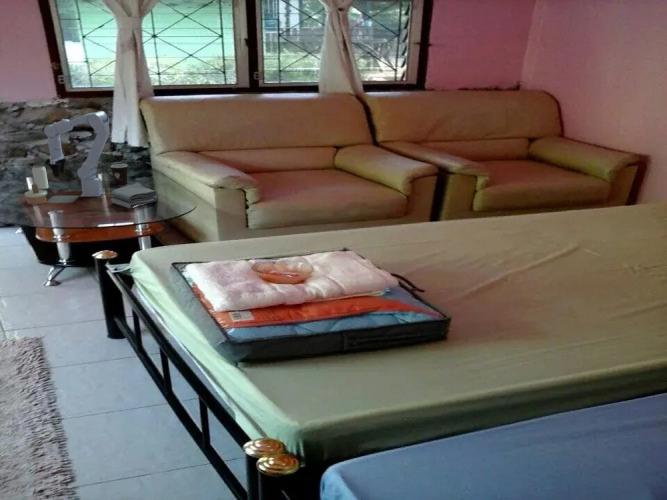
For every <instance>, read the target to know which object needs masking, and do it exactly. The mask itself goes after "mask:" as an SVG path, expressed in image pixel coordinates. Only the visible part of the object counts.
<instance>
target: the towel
mask: <svg viewBox="0 0 667 500" xmlns="http://www.w3.org/2000/svg"><path fill="white" fill-rule="evenodd" d="M109 195H110V196H111V199H110V201H111V203H113V204H115V205H118V206H121V207H123V208H124V207H125V208H127V209H131V208H132V209H134V208H133V207H134V206H136V205H142V206H145V205H148V204H151V203H154V202H157V200H158V196H157V195H158V194H157V191H156V190H154V189H151V188H146V187H144V186H143V185H142V184H140V183H138V182H136V183H134V184H129V185H126V186H122V187H119V188H115V189H113V190H112V191H111V193H110V194H109ZM147 203H148V204H147ZM144 204H145V205H144ZM132 209H131V210H132Z"/></svg>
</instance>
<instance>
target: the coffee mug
mask: <svg viewBox="0 0 667 500" xmlns="http://www.w3.org/2000/svg"><path fill="white" fill-rule="evenodd" d="M108 169H110V170H111V173H112V174H110V173H109V172H108ZM105 172H106V173H107V175H109V176H110V177H112V178H113V181H114V184H115V185H116V186H123V185H127V184H128V164H125V163H116V164H112V165H110V167H106V168H105Z"/></svg>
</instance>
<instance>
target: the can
mask: <svg viewBox="0 0 667 500" xmlns="http://www.w3.org/2000/svg"><path fill="white" fill-rule="evenodd" d="M31 170H32V171H31V172H32V178H33V184H37V185H38V190H47V189H49V183H48V181H49V180H48V176H47V175H48V174H47V170H46V167H45V165H43V164H36V165H33V166H32V169H31Z"/></svg>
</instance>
